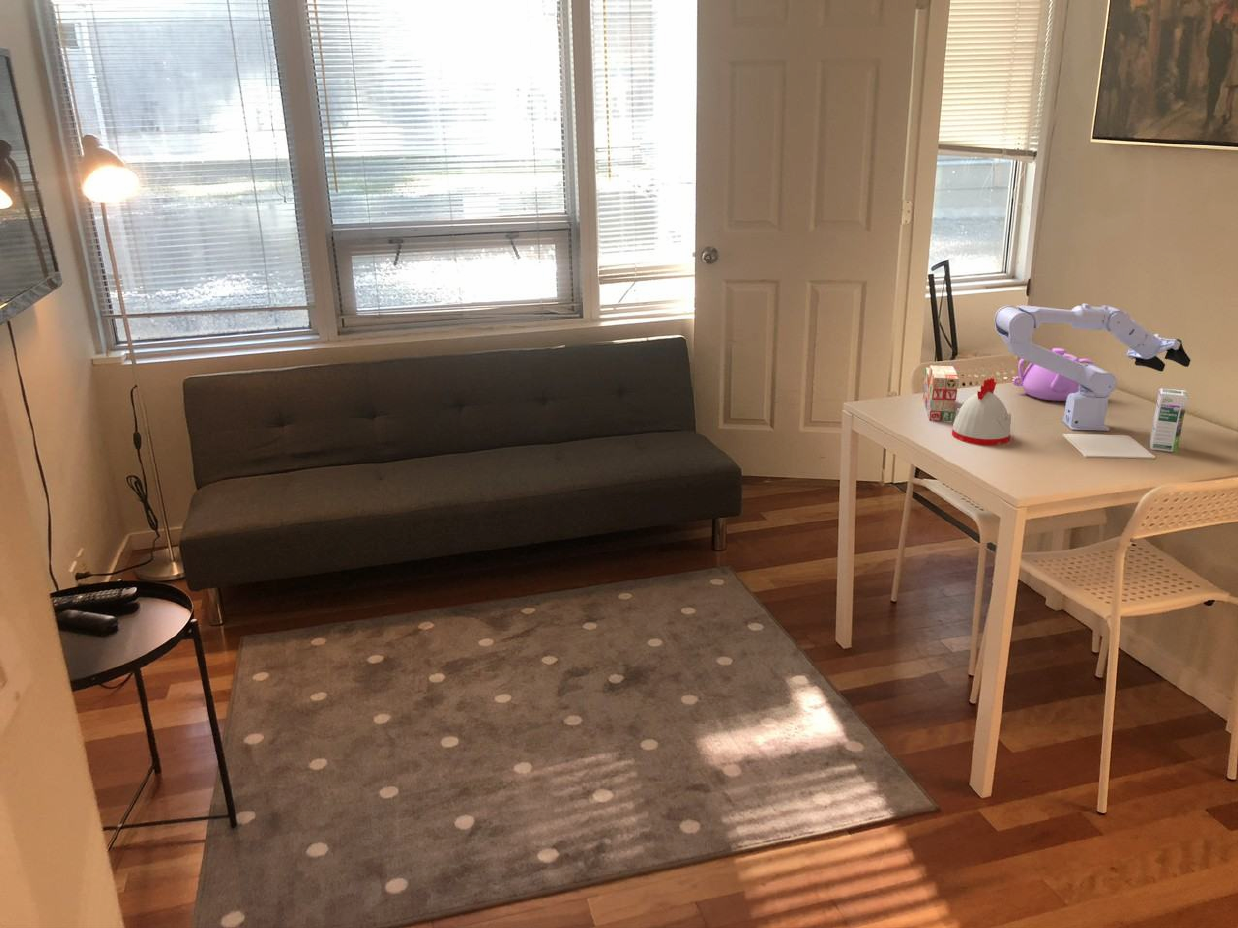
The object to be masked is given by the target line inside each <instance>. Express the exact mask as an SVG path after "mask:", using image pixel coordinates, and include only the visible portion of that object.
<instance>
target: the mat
mask: <svg viewBox="0 0 1238 928" xmlns="http://www.w3.org/2000/svg"><path fill="white" fill-rule="evenodd" d="M1062 436H1063V437H1064V438H1065V439H1066V440H1067V441H1068V442H1069V443H1070V444H1072V446H1074V448H1075V449H1077V450H1078V451H1079V452H1080V453H1081V455H1082V456H1084V457H1085V458H1114V459H1117V458H1118V459H1148V460H1149V459H1156V456H1155V455H1154V454H1152V453H1151V452H1150V451H1149V450H1147V448H1145V447H1144V446H1142V444H1140V443H1139V442H1137V441H1136V440H1135V439H1134V438H1132V436H1130V435H1127V434H1093V433H1092V434H1090V433H1089V434H1086V433H1085V434H1084V433H1082V434H1081V433H1080V434H1079V433H1063V434H1062Z"/></svg>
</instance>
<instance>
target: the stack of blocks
mask: <svg viewBox="0 0 1238 928" xmlns="http://www.w3.org/2000/svg"><path fill="white" fill-rule="evenodd" d="M924 371H925V372H924V383H923V394H922V399H923V403H925V404H924V407H925V409H926V412H927V413H926V414H927V417H928V421H930V420H933V421H932V422H944V421H952V422H951V423H954V420H955V418H954V417H955V407H956V401H957V396H958V387H959V382H960V378H959V376H958V374H957V371H956V369H955V368H954V366H952V365H929V367H925V369H924ZM930 422H931V421H930Z"/></svg>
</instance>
